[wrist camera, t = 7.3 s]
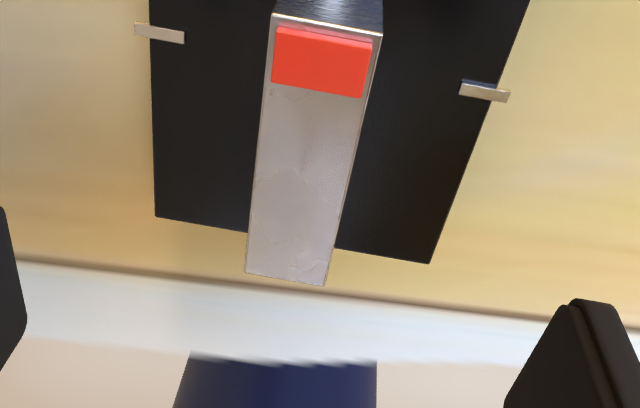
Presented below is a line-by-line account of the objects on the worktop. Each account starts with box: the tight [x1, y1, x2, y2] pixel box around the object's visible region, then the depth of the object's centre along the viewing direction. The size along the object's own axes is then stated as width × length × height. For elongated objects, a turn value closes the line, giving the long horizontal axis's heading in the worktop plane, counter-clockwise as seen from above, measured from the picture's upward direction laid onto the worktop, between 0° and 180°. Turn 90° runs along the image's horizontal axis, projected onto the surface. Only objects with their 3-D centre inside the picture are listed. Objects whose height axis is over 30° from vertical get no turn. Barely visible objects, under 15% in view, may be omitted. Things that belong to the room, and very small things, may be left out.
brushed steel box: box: [244, 0, 383, 286], centre depth 14 cm, size 6×2×6 cm, turn 171°
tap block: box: [134, 0, 530, 264], centre depth 18 cm, size 14×11×3 cm
